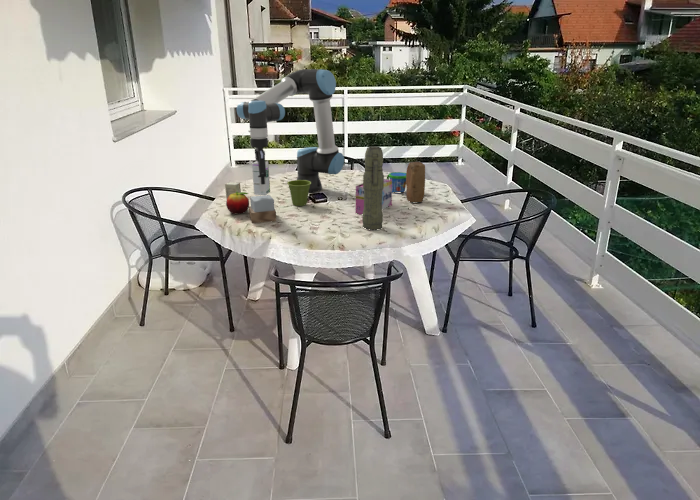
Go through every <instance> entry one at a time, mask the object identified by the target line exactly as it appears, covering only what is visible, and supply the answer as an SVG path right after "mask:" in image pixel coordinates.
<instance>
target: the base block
mask: <svg viewBox="0 0 700 500" xmlns="http://www.w3.org/2000/svg"><path fill="white" fill-rule="evenodd" d="M248 215H249V219H250V221H251V224H256V223H257V224H259V223H269V222H271V221H272V222H277V212H276V209H275V208H274V211H264V212H254V211H253V210H252V208H251V205H249V208H248Z"/></svg>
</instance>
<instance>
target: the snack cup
mask: <svg viewBox="0 0 700 500" xmlns="http://www.w3.org/2000/svg"><path fill="white" fill-rule="evenodd" d="M386 179H388V180H390V179H392V193H393V192H404V191H405V192H406V189H407V186H406V172H402V171H397V172H394V171H393V172H389V173H388V174H387V176H386ZM405 192H404V193H405Z"/></svg>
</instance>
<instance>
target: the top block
mask: <svg viewBox="0 0 700 500" xmlns="http://www.w3.org/2000/svg"><path fill="white" fill-rule="evenodd" d="M249 198H250V200H249V204H250V206H251V208H252V210H253V211H254V212H264V211H274V209H275V199H274V198H273V197H272V196H271V195H270V194H267V195H255V196H254V195H253V196H250V197H249Z"/></svg>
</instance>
